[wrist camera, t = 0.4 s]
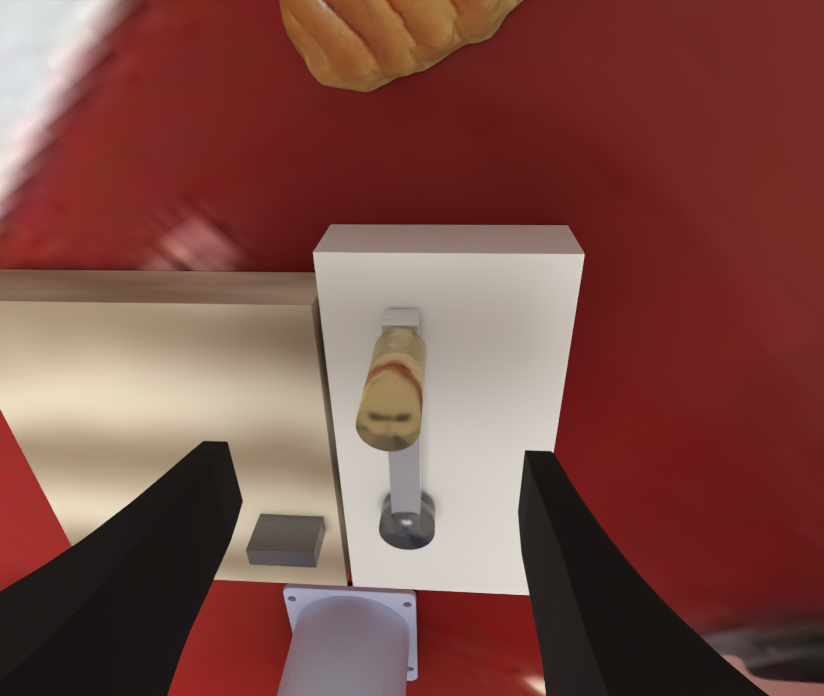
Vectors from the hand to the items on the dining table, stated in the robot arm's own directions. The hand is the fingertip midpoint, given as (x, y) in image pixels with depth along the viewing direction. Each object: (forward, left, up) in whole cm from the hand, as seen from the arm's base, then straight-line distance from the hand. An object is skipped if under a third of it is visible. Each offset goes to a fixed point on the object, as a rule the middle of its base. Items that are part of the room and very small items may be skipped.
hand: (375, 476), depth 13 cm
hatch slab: (-7, +10, -10) cm, 16 cm away
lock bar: (-5, 0, -7) cm, 9 cm away
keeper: (-10, +5, -7) cm, 14 cm away
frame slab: (-6, -2, -10) cm, 12 cm away
